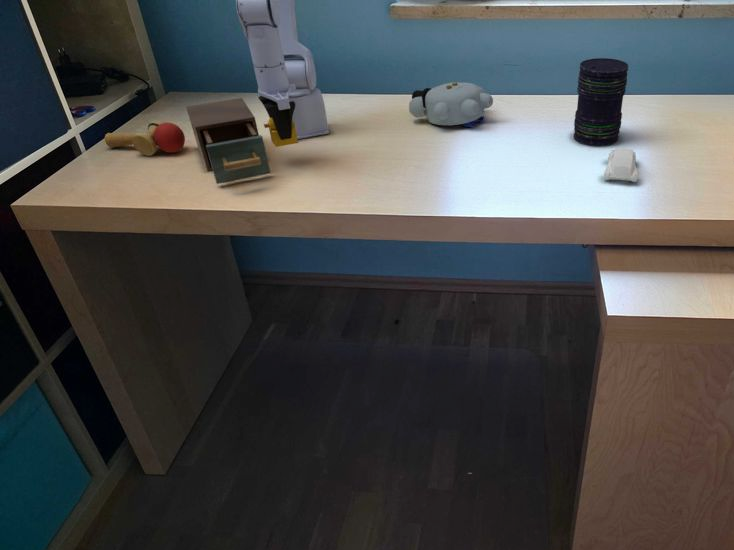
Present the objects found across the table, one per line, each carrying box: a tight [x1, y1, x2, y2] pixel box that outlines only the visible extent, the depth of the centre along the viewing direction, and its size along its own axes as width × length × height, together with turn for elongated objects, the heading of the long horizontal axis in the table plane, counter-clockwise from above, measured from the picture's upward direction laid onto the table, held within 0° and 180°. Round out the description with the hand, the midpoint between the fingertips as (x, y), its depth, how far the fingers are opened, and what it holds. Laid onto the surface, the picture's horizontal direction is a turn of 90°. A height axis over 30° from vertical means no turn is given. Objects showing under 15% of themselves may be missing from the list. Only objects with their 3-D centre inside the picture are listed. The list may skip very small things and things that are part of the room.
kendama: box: [104, 120, 186, 157], centre depth 135 cm, size 8×6×18 cm
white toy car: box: [603, 147, 639, 183], centre depth 122 cm, size 12×6×5 cm, turn 168°
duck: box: [263, 117, 299, 148], centre depth 126 cm, size 6×3×5 cm, turn 116°
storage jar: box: [573, 57, 629, 147], centre depth 133 cm, size 10×10×15 cm
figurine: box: [408, 81, 494, 128], centre depth 146 cm, size 17×8×20 cm
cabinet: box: [185, 97, 260, 172], centre depth 131 cm, size 13×11×9 cm
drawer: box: [202, 122, 271, 185], centre depth 123 cm, size 17×10×7 cm, turn 26°
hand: (283, 135), depth 127 cm, fingers closed on duck, 3 cm apart
